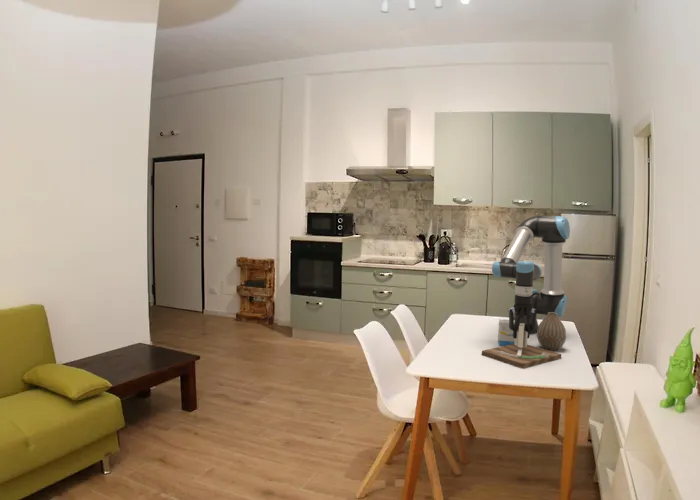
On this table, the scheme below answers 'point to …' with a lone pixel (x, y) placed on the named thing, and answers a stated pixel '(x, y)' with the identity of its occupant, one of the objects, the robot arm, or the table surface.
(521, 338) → the cream dial pointer
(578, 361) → the table surface
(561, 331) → the vase
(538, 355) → the board
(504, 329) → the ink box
